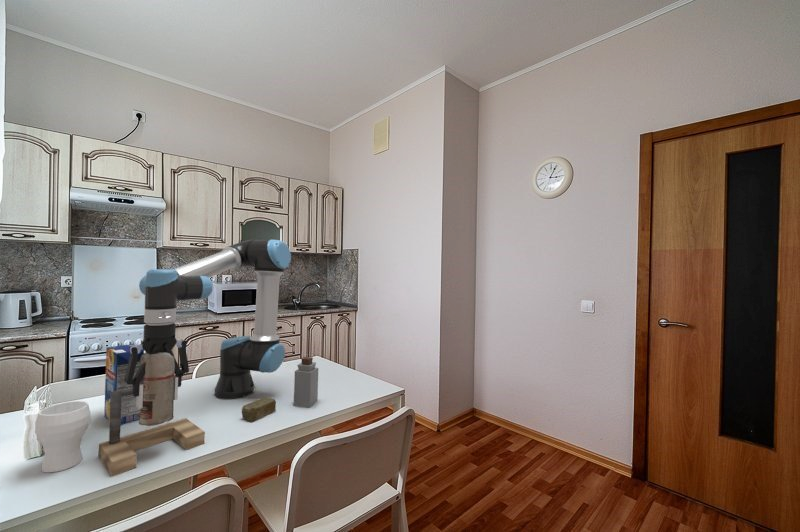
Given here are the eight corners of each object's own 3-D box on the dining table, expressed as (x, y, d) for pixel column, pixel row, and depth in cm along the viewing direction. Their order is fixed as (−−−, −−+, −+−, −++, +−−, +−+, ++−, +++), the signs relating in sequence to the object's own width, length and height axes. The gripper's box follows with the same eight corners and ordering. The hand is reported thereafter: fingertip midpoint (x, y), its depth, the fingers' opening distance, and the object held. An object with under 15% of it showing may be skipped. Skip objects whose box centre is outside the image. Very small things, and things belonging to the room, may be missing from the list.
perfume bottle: (309, 407, 134) (311, 360, 134) (293, 405, 135) (295, 359, 135) (317, 401, 140) (318, 356, 140) (301, 399, 142) (303, 355, 142)
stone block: (240, 419, 122) (240, 405, 122) (266, 408, 133) (266, 395, 133) (252, 423, 120) (252, 408, 120) (277, 411, 130) (277, 398, 130)
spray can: (134, 420, 99) (136, 350, 99) (167, 412, 106) (169, 346, 106) (143, 430, 94) (145, 356, 94) (178, 420, 100) (180, 351, 100)
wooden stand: (98, 456, 97) (100, 393, 97) (185, 428, 114) (187, 375, 114) (112, 476, 88) (114, 407, 88) (204, 443, 105) (206, 385, 105)
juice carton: (104, 416, 121) (106, 347, 121) (130, 409, 127) (132, 344, 127) (114, 427, 114) (116, 353, 114) (141, 419, 120) (144, 349, 120)
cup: (47, 480, 86) (49, 419, 86) (24, 469, 90) (26, 411, 90) (98, 458, 96) (99, 404, 96) (75, 450, 100) (77, 397, 100)
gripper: (118, 329, 89) (115, 418, 89) (204, 321, 106) (201, 396, 106) (110, 325, 94) (107, 409, 94) (194, 318, 110) (191, 390, 110)
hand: (157, 402), depth 100 cm, fingers closed on spray can, 8 cm apart
